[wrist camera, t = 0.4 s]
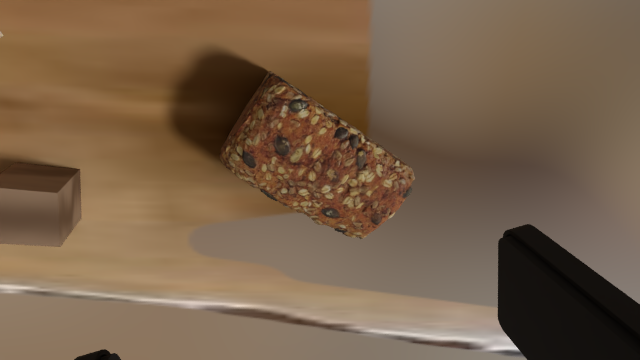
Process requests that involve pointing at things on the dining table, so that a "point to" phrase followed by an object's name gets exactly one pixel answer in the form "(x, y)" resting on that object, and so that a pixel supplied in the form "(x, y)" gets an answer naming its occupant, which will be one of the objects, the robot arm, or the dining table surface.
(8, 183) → the walnut block
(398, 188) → the bread
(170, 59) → the dining table surface
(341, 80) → the dining table surface
